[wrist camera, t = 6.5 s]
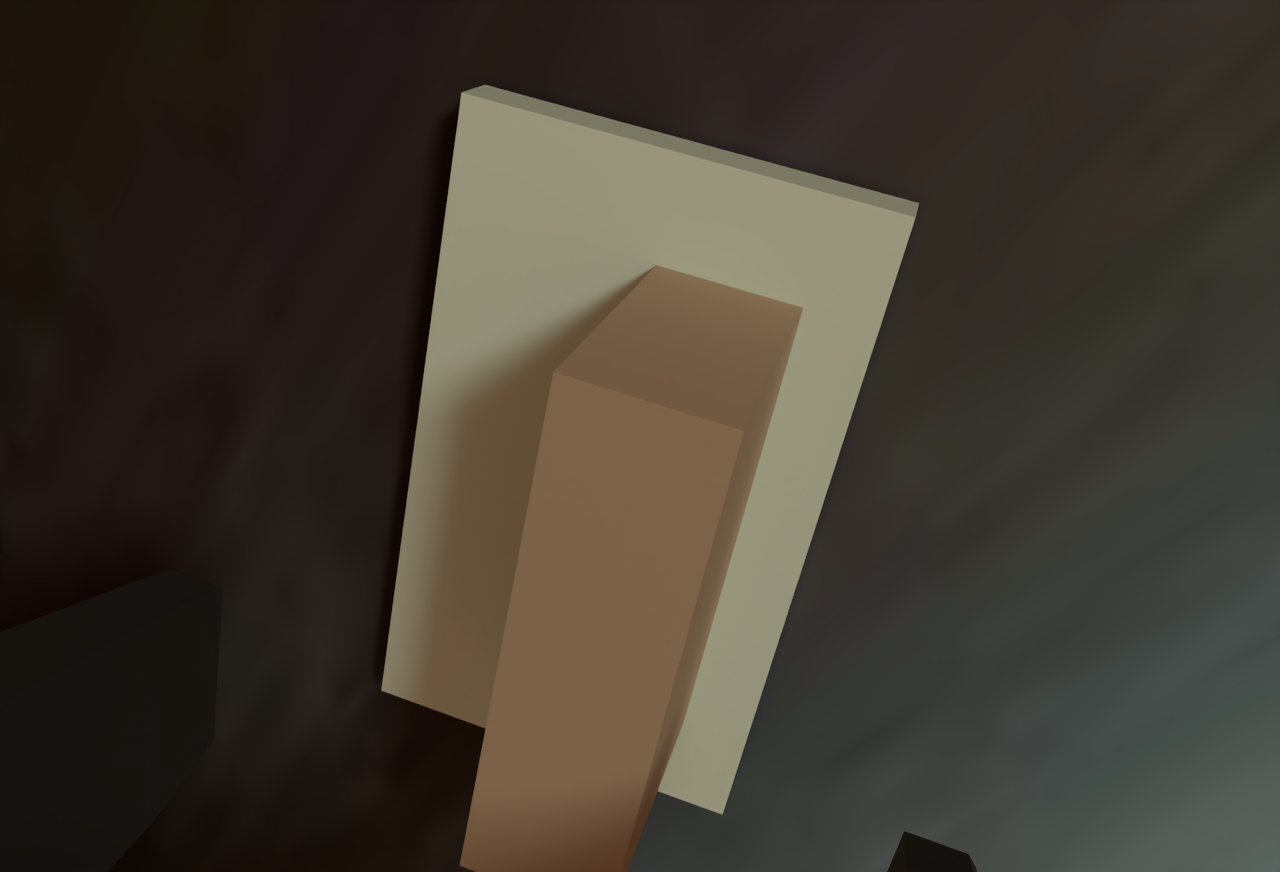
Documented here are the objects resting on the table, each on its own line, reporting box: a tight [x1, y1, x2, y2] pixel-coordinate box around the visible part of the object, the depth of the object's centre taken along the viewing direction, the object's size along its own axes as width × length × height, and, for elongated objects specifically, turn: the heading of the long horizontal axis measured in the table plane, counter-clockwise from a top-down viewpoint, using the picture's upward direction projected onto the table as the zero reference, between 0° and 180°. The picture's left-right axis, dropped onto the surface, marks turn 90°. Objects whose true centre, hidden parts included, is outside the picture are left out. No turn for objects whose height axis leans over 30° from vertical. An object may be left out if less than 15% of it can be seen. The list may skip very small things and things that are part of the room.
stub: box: [381, 85, 919, 872], centre depth 15 cm, size 10×6×5 cm, turn 168°
